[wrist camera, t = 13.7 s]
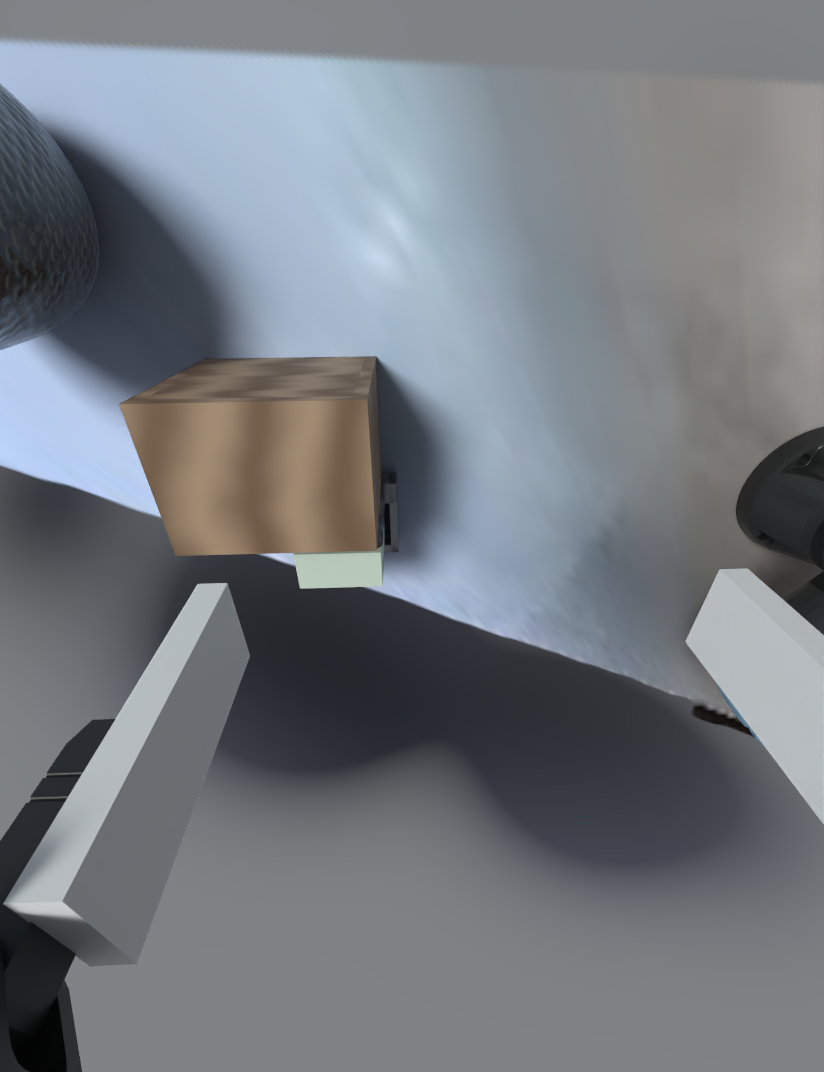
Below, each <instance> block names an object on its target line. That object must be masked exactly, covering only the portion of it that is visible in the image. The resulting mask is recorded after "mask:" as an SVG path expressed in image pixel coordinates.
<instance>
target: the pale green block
mask: <svg viewBox="0 0 824 1072" xmlns="http://www.w3.org/2000/svg"><path fill="white" fill-rule="evenodd" d="M383 518H384V532H383V544H382V546H381V547H380V548H378V549H377V551H345V552H305V553H294V559H295V565H296V570H297V575H298V580H299V585H300V588H332V587H333V588H334V587H372V586H383V566H384V541H385V515H384V516H383Z"/></svg>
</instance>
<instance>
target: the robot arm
mask: <svg viewBox="0 0 824 1072" xmlns="http://www.w3.org/2000/svg"><path fill="white" fill-rule="evenodd" d="M737 519H738V522H739V525H740V527H741V528H742V530H743V531H744V532H745V533H746V534H747V535H748V536H750V537H751V538H752V539H753V540H755V541H756V542H757V543H759V544H760V545H762V546H764V547H766V548H768V549H770V550H773V551H776V552H779V553H782V554H785V555H788V556H791V557H794V558H797V559H800V560H804V561H807V562H810V563H813V564H815V565H817V566H818V567H820V568H821V569H822V570H824V427H821V428H817V429H814V430H811V431H809V432H806V433H804V434H801V435H799V436H797V437H795V438H793V439H792V440H790V441H788V442H787V443H785V444H783V445H782V446H780V447H779V448H778V449H776V450H775V451H774V452H772V453H771V454H770V455H769V456H768V457H767V458H765V459H764V460H763V461H762V462H761V463H760V464H759V466H758V467H757V468H756V469H755V470H754V471H753V473H752V474H751V475H750V477H749V478H748V480H747V481H746V483H745V485H744V487H743V489H742V491H741V493H740V496H739V499H738V503H737ZM814 585H815V586H814ZM818 588H819V589H818ZM822 591H823V592H824V571H823V572H822V573H821V574H819V575H818V576H816V577H815V578H813V579H812V580H811V581H810V582H807V583H806V584H804V585H803V586H801V587H800V588H799V589H797V590H796V591H794V592H793V593H791V594H790V595H788V596H787V597H785V598H784V599H782V598H781V597H779V596H778V595H777V594H776V593H775V592H774V591H773V590H771V589H770V588H769V587H768V586H767V585H766V584H765V583H763V582H762V581H761V580H760V579H759V578H758V577H757V576H755V575H754V574H753V573H752V572H751V571H750V570H749V569H720V570H719V572H718V574H717V576H716V578H715V580H714V582H713V584H712V586H711V589H710V591H709V593H708V595H707V597H706V599H705V601H704V603H703V605H702V608H701V610H700V612H699V614H698V616H697V618H696V620H695V622H694V624H693V627H692V629H691V631H690V633H689V635H688V637H687V639H686V641H685V642H686V643H687V645H688V646H689V647H690V649H691V650H692V651H693V653H694V654H695V655H696V657H697V658H698V659H699V661H700V662H701V663H702V665H703V666H704V667H705V668H706V670H707V671H708V672H709V674H710V675H711V676H712V678H713V679H714V680H715V682H716V684H717V686H718V688H719V690H720V692H721V694H722V695H723V697H724V699H725V700H726V702H727V703H728V705H729V706H730V708H731V709H732V711H733V712H734V713H735V715H736V716H737V717H738V719H739V720H740V721H741V723H742V724H743V725H744V726H746V727H748V728H749V729H750V731H751V733H752V734H753V736H754V737H755V738H756V740H757V741H758V742H759V743H760V744H761V745H762V746H764V748H766V749H767V750H768V751H769V753H770V754H771V755H772V757H773V758H774V759H775V760H776V762H777V763H778V765H779V766H780V767H781V769H782V770H783V771H784V772H785V774H786V775H787V777H788V778H789V779H790V780H791V782H792V783H793V784H794V786H795V787H796V788H797V790H798V791H799V792H800V794H801V795H802V796H803V797H804V799H805V800H806V801H807V803H808V804H809V805H810V807H811V808H812V809H813V811H814V812H815V813H816V815H817V816H818V817H819V819H820V820H821V821H822V823H823V824H824V593H823V592H822ZM249 657H250V655H249V651H248V648H247V645H246V642H245V639H244V635H243V632H242V629H241V626H240V622H239V619H238V616H237V613H236V610H235V606H234V603H233V600H232V597H231V594H230V590H229V587H228V584H227V583H219V584H218V583H217V584H198V585H197V586H196V588H195V590H194V591H193V593H192V594H191V596H190V598H189V600H188V601H187V603H186V604H185V606H184V608H183V609H182V611H181V613H180V614H179V616H178V617H177V619H176V621H175V622H174V624H173V626H172V627H171V629H170V631H169V632H168V634H167V635H166V637H165V639H164V640H163V642H162V644H161V645H160V647H159V649H158V650H157V652H156V653H155V655H154V657H153V658H152V660H151V662H150V663H149V665H148V667H147V669H146V670H145V672H144V673H143V675H142V676H141V678H140V680H139V681H138V683H137V685H136V686H135V688H134V690H133V692H132V693H131V695H130V696H129V698H128V700H127V701H126V703H125V704H124V706H123V708H122V710H121V711H120V713H119V714H118V716H117V718H116V719H106V720H105V719H104V720H92V721H91V722H90V723H89V724H88V725H87V726H85V727H84V728H83V729H82V730H81V731H80V732H79V733H78V734H77V735H76V736H75V737H73V738H72V739H71V740H70V741H69V742H68V743H67V744H66V745H65V747H64V748H63V750H62V751H61V752H60V754H59V756H58V757H57V758H56V760H55V762H54V763H53V764H52V766H51V767H50V769H49V770H48V772H47V776H46V778H43V779H42V780H41V782H40V783H39V785H38V786H37V788H36V789H35V791H34V792H33V794H32V795H31V800H30V802H29V803H26V804H25V806H24V807H23V808H22V810H21V812H20V813H19V814H18V816H17V818H16V819H15V821H14V822H13V823H12V825H11V826H10V828H9V829H8V831H7V832H6V833H5V835H4V836H3V838H2V840H1V841H0V1072H82V1069H81V1063H80V1056H79V1051H78V1044H77V1038H76V1032H75V1025H74V1019H73V1013H72V1006H71V1000H70V994H69V989H68V987H67V984H66V982H65V980H64V979H65V977H66V975H67V972H68V970H69V968H70V966H71V964H72V962H73V959H74V957H75V956H77V957H78V958H79V959H81V960H82V961H84V962H85V963H86V964H88V965H89V966H104V965H125V964H137V962H138V959H139V956H140V953H141V951H142V948H143V945H144V942H145V940H146V937H147V934H148V932H149V929H150V926H151V924H152V921H153V918H154V915H155V912H156V910H157V907H158V904H159V902H160V899H161V896H162V894H163V891H164V888H165V885H166V883H167V880H168V877H169V874H170V872H171V869H172V866H173V863H174V861H175V858H176V855H177V853H178V850H179V847H180V845H181V842H182V839H183V836H184V834H185V831H186V828H187V826H188V823H189V820H190V817H191V815H192V812H193V809H194V806H195V804H196V801H197V798H198V796H199V793H200V790H201V787H202V785H203V782H204V779H205V776H206V774H207V771H208V768H209V765H210V763H211V760H212V757H213V755H214V752H215V749H216V746H217V744H218V741H219V738H220V736H221V733H222V730H223V727H224V725H225V722H226V719H227V716H228V714H229V711H230V708H231V706H232V703H233V700H234V697H235V695H236V692H237V689H238V686H239V684H240V681H241V678H242V676H243V673H244V670H245V667H246V665H247V662H248V659H249Z"/></svg>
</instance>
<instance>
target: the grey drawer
mask: <svg viewBox="0 0 824 1072" xmlns="http://www.w3.org/2000/svg"><path fill="white" fill-rule="evenodd" d="M385 503H390V528H391V532H385V541H384V552H398V513H397V479H396V473H382V477H381V493H380V508H379V524H378V540H377V549H378V548H380V547H381V546H382V544H383V532H384V518H383V516H384V509H385Z"/></svg>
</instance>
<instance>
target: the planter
mask: <svg viewBox="0 0 824 1072" xmlns="http://www.w3.org/2000/svg"><path fill="white" fill-rule="evenodd" d="M98 265H99V238H98V231H97V225H96V221H95V217H94V214H93V210H92V207H91V204H90V202H89V199H88V197H87V194H86V192H85V189H84V187H83V185H82V183H81V181H80V179H79V177H78V176H77V174H76V172H75V170H74V168H73V166H72V165H71V163H70V162H69V160H68V159H67V157H66V156H65V154H64V153H63V151H62V150H61V148H60V147H59V146H58V144H57V143H56V141H55V140H54V139H53V138H52V136H51V135H50V134H49V133H48V132H47V130H46V129H45V128H44V127H43V126H42V125H41V123H40V122H39V121H38V120H37V119H36V118H35V116H34V115H33V114H32V113H31V112H30V111H29V110H28V109H27V108H26V107H25V106H24V105H23V104H21V103H20V102H19V101H18V100H17V99H16V98H15V97H14V96H13V95H12V94H11V93H10V92H9V91H8V90H7V89H6V88H4V87H3V86H2V85H1V84H0V350H2V349H5V348H8V347H11V346H14V345H17V344H20V343H23V342H26V341H29V340H31V339H33V338H36V337H38V336H40V335H42V334H45V333H47V332H49V331H50V330H52V329H54V328H55V327H57V326H59V325H60V324H62V323H63V322H65V321H67V320H68V319H69V318H70V317H71V316H72V315H73V314H74V313H75V312H76V311H77V310H78V309H79V308H80V307H81V306H82V305H83V303H84V302H85V300H86V298H87V297H88V295H89V294H90V292H91V290H92V287H93V284H94V282H95V279H96V276H97V272H98Z"/></svg>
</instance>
